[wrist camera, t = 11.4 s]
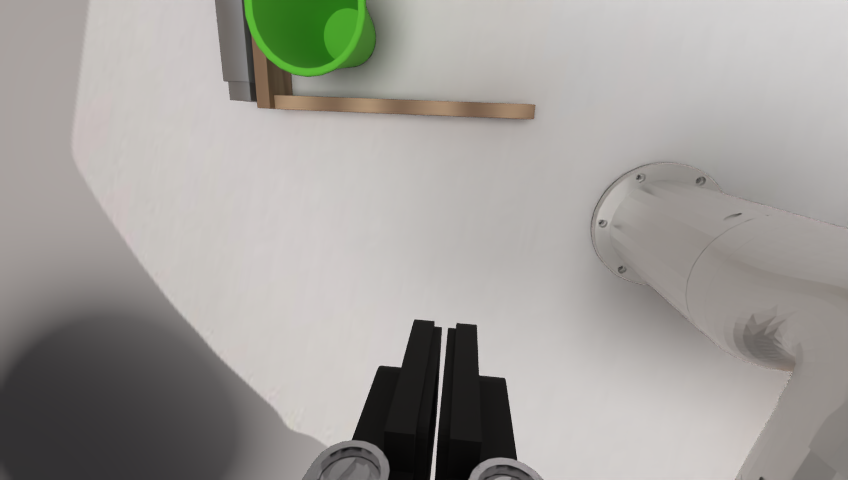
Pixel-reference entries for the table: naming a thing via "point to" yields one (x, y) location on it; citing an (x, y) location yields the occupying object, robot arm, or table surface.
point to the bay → (273, 90)
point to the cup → (312, 33)
